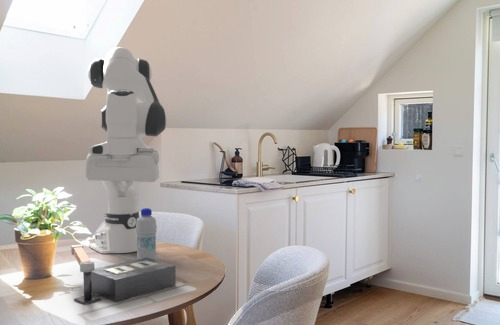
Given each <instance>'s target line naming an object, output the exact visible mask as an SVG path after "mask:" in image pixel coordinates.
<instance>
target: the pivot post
mask: <svg viewBox="0 0 500 325" xmlns="http://www.w3.org/2000/svg"><path fill="white" fill-rule="evenodd" d="M82 273H83V277H82V278H83V295H81V296H77V297H74V298H73V299H74V300H73V301H75V302H78V303H79V304H81V305H84V306H85V305H88V304H93V303H95V302H99V301H102V297H101V296H98V295H96V294H93V293H92V282H91V272H82Z"/></svg>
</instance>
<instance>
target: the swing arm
mask: <svg viewBox="0 0 500 325" xmlns="http://www.w3.org/2000/svg"><path fill="white" fill-rule="evenodd" d="M70 247H71V248H70V249H71V250H70V251H71V252H70V253H71V256H74V257H75V260H76V261H77V263H78V265H79V271H80V273H83V272H92V271H94V269H95V261H91V258H89V256H88V254H87V253H86V251H85V250H84V245H83V244H76V245H75V244H74V245H70Z"/></svg>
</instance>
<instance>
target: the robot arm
mask: <svg viewBox="0 0 500 325" xmlns="http://www.w3.org/2000/svg"><path fill="white" fill-rule="evenodd" d="M87 76H88V79H89V82H90V84H91V85H92V87H94V88H97V89H103V88H104V89H107V92H106V99H105V106H104V107H103V108H102V109H101V110H100V111H101V126H100V127H101V128H102V129H103V130H104V131H105V132H106V134H105V142H101V143H99V144H94V145H92V146H90V147H88V154H87V156H86V160H85V161H86V162H85V164H86V165H85V178H86V180H88V181H96V182H97V181H100V183H101V184H102V186H103V187H104V189H105V190H104V191H105V193H106V200H107V212H106V213H104V216H103V217H105V219H104V223H103V224H102V225H101V226H100V227H99V228H98V229H97V230H96V231H95V236H94V240H95V242H92V243H91V242H90V243H89V244H90V245H88V247H89V248H91V249H93V251H96V252H97V253H100V254H126V253H127V254H128V253H134V252H137V233H136V222H137V218H139V217H140V212H139V205H138V204H139V203H138V202H139V200H138V199H139V196H138V194H139V193H138V192H137V190H136V189H135V188H134V187H133V184H134V183H133V182H141V183H142V182H146V183H147V182H149V183H155V182H157V180H158V179H159V178H160V172H159V160H160V158H159V157H160V155H159V152H158V151H157V150H155V149H154V148H151V147H149V146H148V145H147V144H146V143H145V142H144V141H143V139H142V138H141V136H147V137H158V136H159V135H160V134H161V133H163V132H164V131H165V130H166V127H167V114H166V112H165V109H164V107H163V105H162V104H161V103H160V100H159V98H158V95H157V93H156V91H155V89H154V87H153V84H152V83H151V80H152V76H153V73H152V68H151V66H150V63H149V62H148V61H147V60H146V59H142V58H137V59H135V57H134V55H133V53H132V52H131V51H130V50H129V49H127V48H125V47H123V46H121V47H120V46H117V47H114V48H111V49H110V50H109V51H108V52H107V54H106V56H105V58H102V57H100V58H99V57H98V58H95V59H93V60H92V61H90V63H89V66H88V69H87ZM137 100H140V101H141V102H137ZM124 182H125V183H124Z"/></svg>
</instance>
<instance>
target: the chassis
mask: <svg viewBox="0 0 500 325" xmlns="http://www.w3.org/2000/svg"><path fill="white" fill-rule="evenodd" d="M176 268H177V267H176V265H175V264H172V263H169V262H165V261H161V260H157V259H156V260H154V259H150V258H142V259H137V258H136V259H134V260H129V261H124V262H120V263H119V262H118V263H115V264H111V265H106V266H101V267H96V268H95V267H94V271H92V272H91V282H92V294H93V295H95V296H98V297H100V298H103V299H106V300H109V301H111V302H114V303H119V302H123V301H126V300H130V299H134V298H137V297H141V296H144V295H148V294H151V293H154V292H158V291H162V290H166V289H169V288H173V287H176V285H177V282H176V276H177V273H176Z"/></svg>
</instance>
